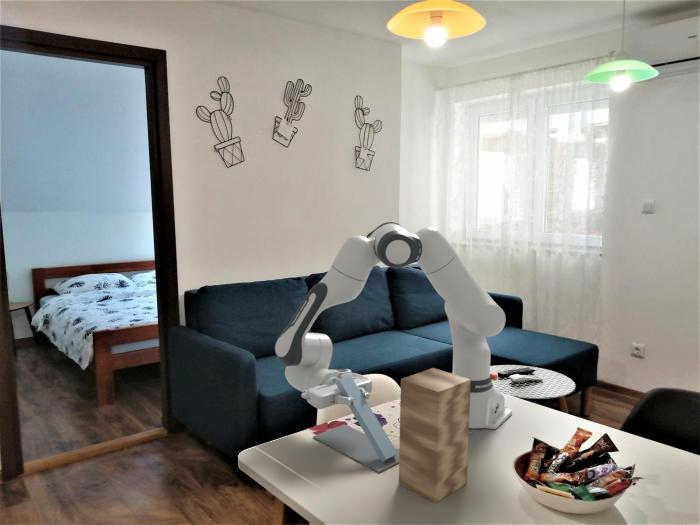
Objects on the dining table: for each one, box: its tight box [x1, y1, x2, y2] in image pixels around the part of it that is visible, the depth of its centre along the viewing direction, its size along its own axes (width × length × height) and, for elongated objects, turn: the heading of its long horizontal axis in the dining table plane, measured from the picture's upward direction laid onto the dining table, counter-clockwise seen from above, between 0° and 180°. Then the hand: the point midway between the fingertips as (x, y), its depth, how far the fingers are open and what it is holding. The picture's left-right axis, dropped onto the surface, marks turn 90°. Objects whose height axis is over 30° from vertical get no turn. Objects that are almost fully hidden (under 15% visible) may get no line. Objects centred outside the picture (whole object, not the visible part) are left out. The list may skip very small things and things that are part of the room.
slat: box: [336, 376, 398, 463], centre depth 144 cm, size 4×24×2 cm
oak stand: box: [398, 367, 471, 504], centre depth 127 cm, size 12×11×26 cm
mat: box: [312, 423, 399, 474], centre depth 147 cm, size 12×26×1 cm, turn 43°
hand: (359, 399), depth 145 cm, fingers closed on slat, 4 cm apart
